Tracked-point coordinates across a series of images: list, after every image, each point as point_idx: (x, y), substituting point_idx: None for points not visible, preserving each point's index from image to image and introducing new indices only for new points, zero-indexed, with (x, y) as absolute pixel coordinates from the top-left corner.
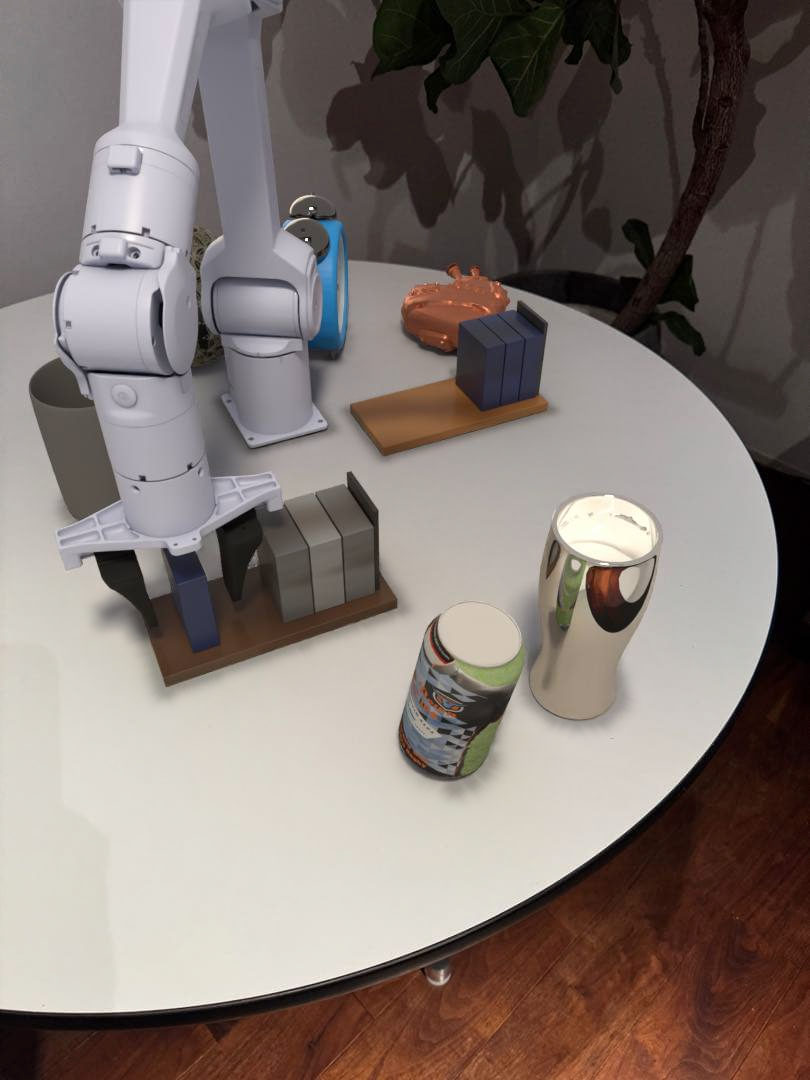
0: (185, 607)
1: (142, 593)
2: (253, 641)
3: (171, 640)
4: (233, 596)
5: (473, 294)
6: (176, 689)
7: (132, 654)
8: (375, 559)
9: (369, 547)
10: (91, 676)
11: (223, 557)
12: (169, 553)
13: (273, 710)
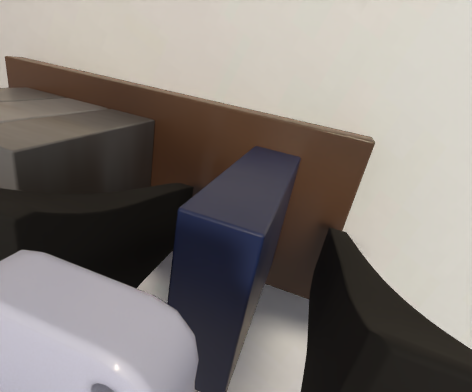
0: (276, 195)
1: (359, 287)
2: (209, 117)
3: (315, 206)
4: (183, 187)
5: None
6: (360, 122)
7: (373, 231)
8: None
9: None
10: (456, 238)
11: (143, 257)
12: (225, 341)
13: None
